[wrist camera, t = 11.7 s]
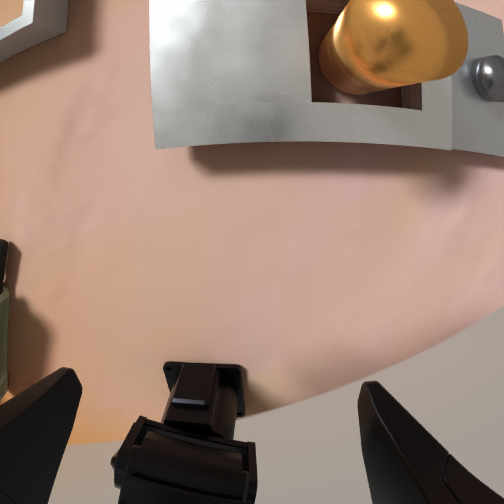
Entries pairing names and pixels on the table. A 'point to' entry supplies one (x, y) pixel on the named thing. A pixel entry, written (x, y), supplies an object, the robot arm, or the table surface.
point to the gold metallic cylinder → (393, 44)
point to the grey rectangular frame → (33, 26)
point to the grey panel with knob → (305, 82)
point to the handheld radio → (3, 319)
